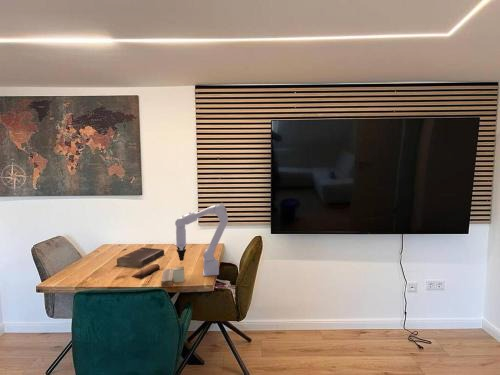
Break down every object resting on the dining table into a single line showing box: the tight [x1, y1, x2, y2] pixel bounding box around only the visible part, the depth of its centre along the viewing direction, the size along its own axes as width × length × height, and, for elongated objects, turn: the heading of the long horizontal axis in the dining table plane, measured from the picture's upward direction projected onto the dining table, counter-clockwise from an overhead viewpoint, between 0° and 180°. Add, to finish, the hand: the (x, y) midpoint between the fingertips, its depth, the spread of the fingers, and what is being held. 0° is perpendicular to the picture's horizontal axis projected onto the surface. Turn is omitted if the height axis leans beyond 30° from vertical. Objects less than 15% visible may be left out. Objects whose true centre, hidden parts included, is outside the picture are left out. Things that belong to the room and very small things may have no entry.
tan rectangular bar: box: [160, 268, 174, 287], centre depth 181 cm, size 6×20×3 cm, turn 12°
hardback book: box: [116, 247, 165, 268], centre depth 217 cm, size 29×19×5 cm, turn 165°
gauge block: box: [172, 266, 185, 283], centre depth 178 cm, size 6×5×7 cm
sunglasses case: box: [131, 263, 161, 279], centre depth 191 cm, size 18×7×7 cm, turn 161°
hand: (181, 258), depth 188 cm, fingers open, 7 cm apart
